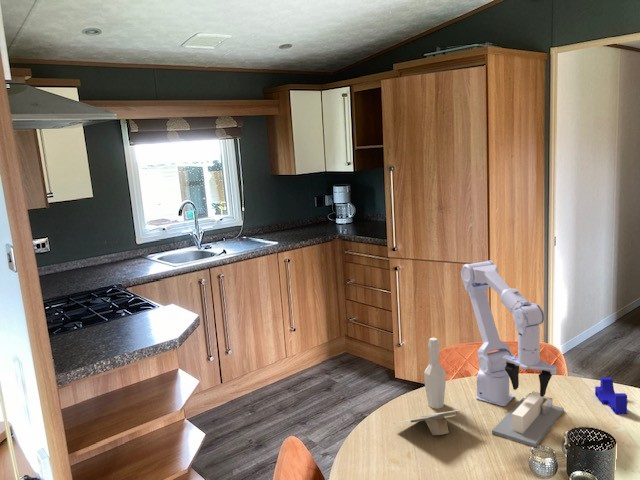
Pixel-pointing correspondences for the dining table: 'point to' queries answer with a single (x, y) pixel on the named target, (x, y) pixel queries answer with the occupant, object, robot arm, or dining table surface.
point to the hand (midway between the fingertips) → (529, 391)
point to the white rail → (527, 412)
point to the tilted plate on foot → (435, 422)
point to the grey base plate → (537, 426)
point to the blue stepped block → (611, 396)
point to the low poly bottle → (434, 377)
